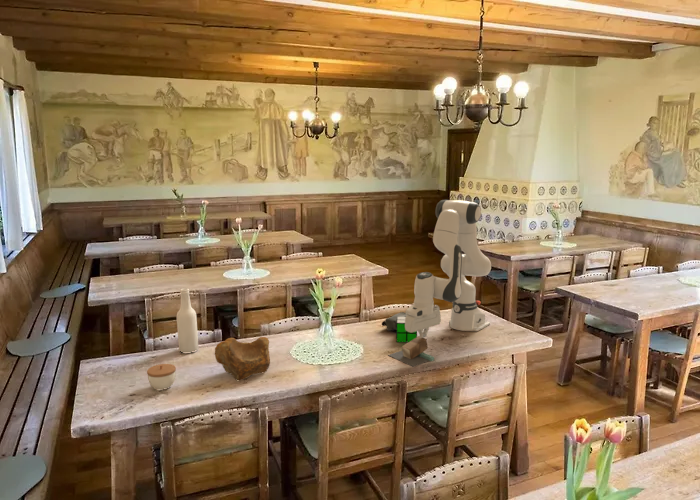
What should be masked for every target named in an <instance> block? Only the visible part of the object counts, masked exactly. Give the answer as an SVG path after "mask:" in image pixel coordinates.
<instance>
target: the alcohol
mask: <svg viewBox="0 0 700 500" xmlns="http://www.w3.org/2000/svg"><path fill="white" fill-rule="evenodd" d="M179 291H180V306H179V307H180V308H179V310H178V311H177V312H176V327H177V340H178V342H177V343H178V351H179V352H180V351H181V352H192V351H195V350H197V349H198V350H199V337H198V336H199V334H198V322H197V321H198V320H197V313H196V310H195V309H194V308H193V307H192V304H191V298H190V289H189V288H188V287H187V288H186V287H183V288H181V289H179ZM198 350H197V351H198ZM181 352H180V353H181Z"/></svg>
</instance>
